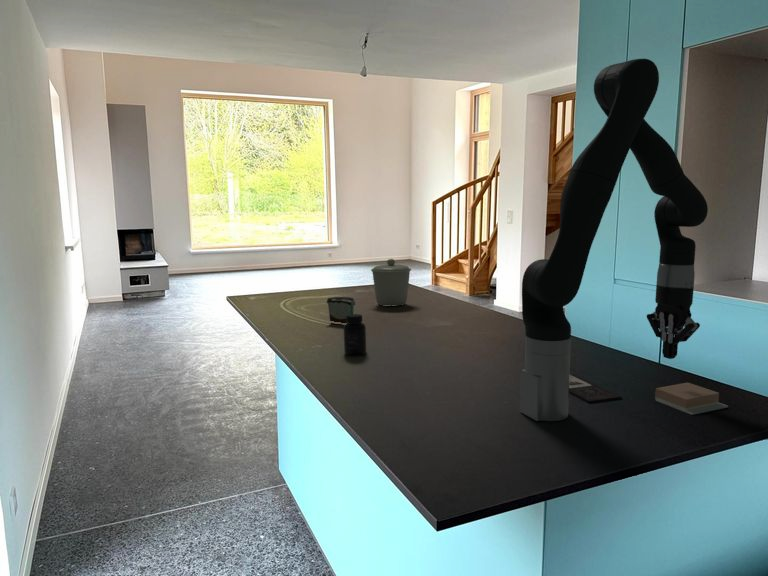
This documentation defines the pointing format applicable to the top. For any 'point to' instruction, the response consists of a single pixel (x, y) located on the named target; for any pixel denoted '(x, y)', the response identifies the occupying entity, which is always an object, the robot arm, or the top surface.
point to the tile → (687, 396)
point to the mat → (697, 410)
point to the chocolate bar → (589, 390)
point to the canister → (391, 283)
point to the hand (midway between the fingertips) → (669, 357)
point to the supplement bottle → (354, 336)
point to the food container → (340, 308)
